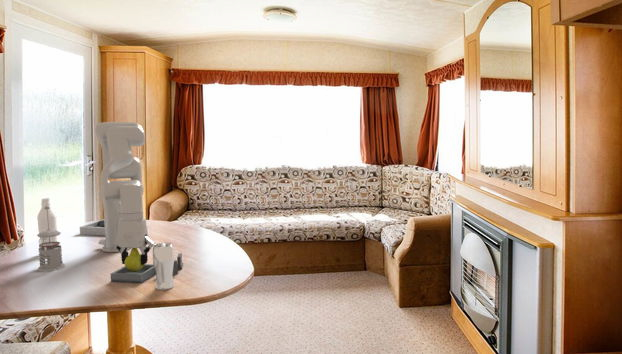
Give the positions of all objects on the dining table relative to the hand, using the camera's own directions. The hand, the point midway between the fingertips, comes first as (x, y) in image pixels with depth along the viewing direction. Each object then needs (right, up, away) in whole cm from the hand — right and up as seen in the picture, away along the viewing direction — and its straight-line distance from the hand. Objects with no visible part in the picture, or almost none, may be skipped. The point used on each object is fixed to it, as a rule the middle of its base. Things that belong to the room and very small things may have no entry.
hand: (134, 263), depth 156 cm
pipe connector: (-46, +2, +75) cm, 88 cm away
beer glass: (+15, -6, -10) cm, 19 cm away
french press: (-39, -4, +13) cm, 42 cm away
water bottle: (-51, -3, +31) cm, 59 cm away
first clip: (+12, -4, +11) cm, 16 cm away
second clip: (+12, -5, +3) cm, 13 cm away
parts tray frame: (-44, +3, +77) cm, 88 cm away
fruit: (0, -3, 0) cm, 3 cm away
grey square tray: (0, -5, 0) cm, 5 cm away
